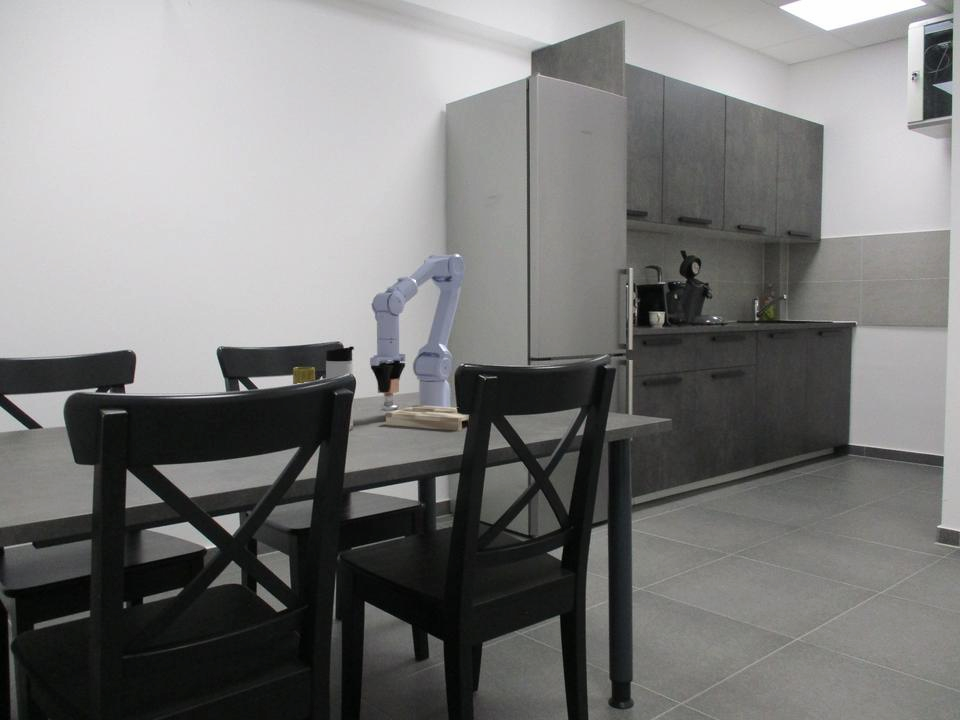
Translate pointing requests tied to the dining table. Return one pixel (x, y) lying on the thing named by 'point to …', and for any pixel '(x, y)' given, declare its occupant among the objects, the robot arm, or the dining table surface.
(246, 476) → the dining table surface
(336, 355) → the travel mug
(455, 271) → the robot arm
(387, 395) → the keyhole peg
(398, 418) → the keyhole plate
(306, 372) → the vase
